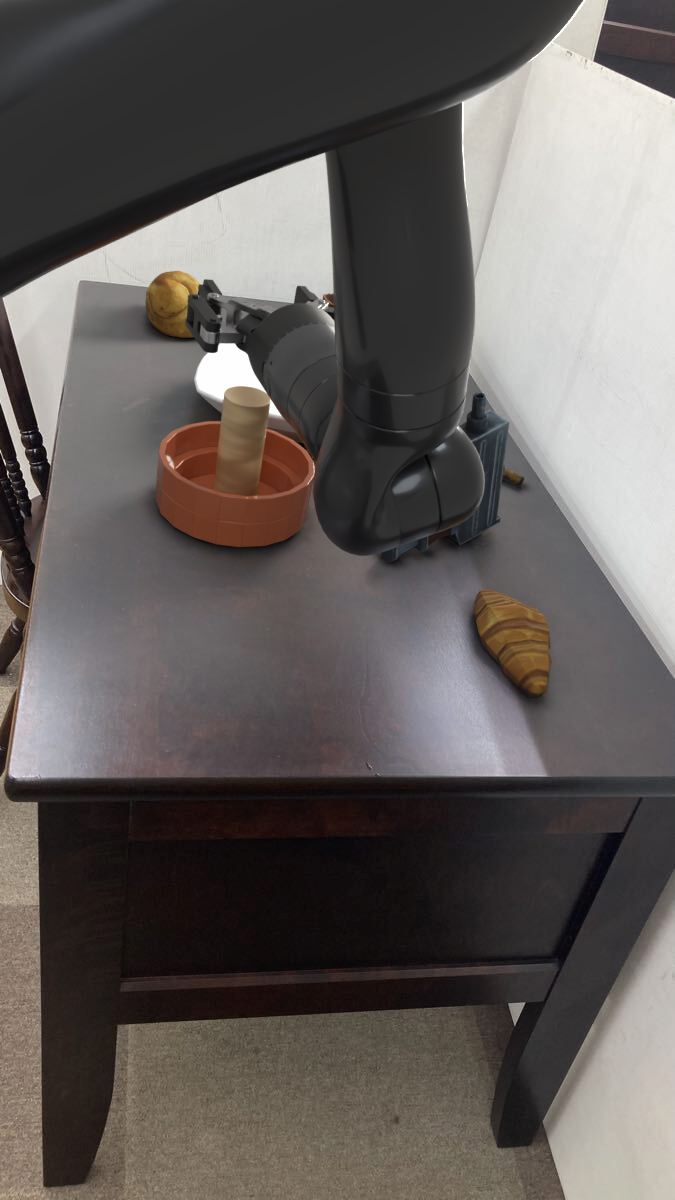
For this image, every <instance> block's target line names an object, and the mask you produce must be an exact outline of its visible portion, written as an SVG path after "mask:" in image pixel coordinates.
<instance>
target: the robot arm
mask: <svg viewBox="0 0 675 1200" xmlns="http://www.w3.org/2000/svg"><path fill="white" fill-rule="evenodd" d="M585 1H586V0H0V300H1V299H3V298H5V297H7V296H9V295H11V294H12V293H14V292H16V291H18V290H19V289H21V288H23V287H25V286H27V285H29V284H30V283H33V282H34V281H36V280H38V279H40V278H42V277H43V276H45V275H47V274H49V273H51V272H53V271H55V270H57V269H59V268H61V267H63V266H65V265H67V264H69V263H72V262H74V261H75V260H78V259H80V258H82V257H84V256H86V255H88V254H91V253H93V252H95V251H97V250H99V249H101V248H104V247H106V246H108V245H110V244H112V243H115V242H117V241H119V240H122V239H124V238H125V237H128V236H130V235H132V234H134V233H137V232H139V231H140V230H143V229H145V228H147V227H149V226H151V225H153V224H156V223H158V222H160V221H162V220H164V219H166V218H168V217H171V216H172V215H174V214H177V213H179V212H181V211H183V210H185V209H187V208H189V207H192V206H193V205H195V204H197V203H200V202H203V201H204V200H206V199H208V198H211V197H213V196H215V195H217V194H219V193H222V192H224V191H227V190H229V189H232V188H234V187H236V186H240V185H242V184H243V183H246V182H249V181H252V180H254V179H256V178H259V177H262V176H264V175H265V176H266V175H267V174H271V173H273V172H275V171H277V170H280V169H283V168H286V167H288V166H291V165H294V164H297V163H299V162H303V161H305V160H309V159H311V158H314V157H317V156H320V155H323V154H324V158H325V166H326V167H325V168H326V178H327V191H328V205H329V222H330V241H331V242H330V243H331V262H332V263H331V264H332V265H331V266H332V291H333V293H334V308H332V307H328V302H327V301H325V300H323V298H319V297H318V296H317V295H316V294H315V293H314V292H312V291H311V290H309V288H308V287H307V286H306V285H296V287H295V288H296V289H295V295H294V300H293V303H290V304H286V305H284V306H281V307H279V308H277V307H274V306H271V305H270V304H269V305H261V304H258V303H257V302H254V301H252V300H249V299H247V298H244V297H242V296H239V297H235V298H229V297H228V296H225V295H223V293H222V291H221V290H220V288H219V287H218V285H217V283H216V282H215V281H214V279H208V278H204V279H203V282H202V283H200V284H199V286H198V295H197V294H191V295H188V301H187V302H188V308H187V319H186V324H185V325H186V327H187V328H188V330H189V331H190V332H191V334H192V335H193V337H192V338H194V339H195V341H196V343H197V344H198V345H199V346H200V348H201V349H202V351H204V353H216V352H218V346H219V344H220V343H224V344H235V345H236V346H237V348H239V349H240V350H242V351H244V352H245V353H247V355H248V357H249V361H250V364H251V367H252V369H253V372H254V374H255V376H256V377H257V379H258V380H259V382H260V383H261V385H262V386H263V388H264V390H265V391H266V393H267V394H268V396H269V397H270V399H271V401H272V402H273V404H274V405H275V407H276V408H277V410H278V411H279V413H280V414H281V416H282V417H283V418H284V419H285V420H286V421H287V423H288V424H289V425H290V426H292V427H293V428H294V430H295V431H296V433H297V434H298V436H299V437H300V439H301V440H302V442H303V443H302V444H303V445H304V448H305V450H306V451H307V452H308V454H309V455H310V457H311V458H312V460H313V461H314V462H315V461H316V462H315V465H314V481H313V486H312V495H313V505H314V509H315V514H316V518H317V520H318V523H319V525H320V527H321V530H322V531H323V533H324V534H325V536H326V537H327V538H328V539H329V540H330V542H331V543H332V544H333V545H334V546H336V547H337V548H339V549H340V550H342V551H343V552H345V553H347V554H350V555H353V556H359V557H368V556H369V557H370V556H374V555H378V554H381V553H382V552H385V551H387V550H390V549H393V548H396V547H398V546H401V545H404V544H407V543H410V542H413V541H415V540H418V539H421V538H424V537H427V536H429V535H432V534H434V533H438V532H441V531H444V530H447V529H449V528H452V527H454V526H457V525H459V524H461V523H463V522H464V521H466V520H467V519H469V518H470V517H471V516H472V515H473V514H474V513H475V512H476V510H477V508H478V507H479V505H480V503H481V500H482V497H483V494H484V486H485V476H484V469H483V465H482V462H481V459H480V456H479V454H478V452H477V450H476V448H475V446H474V445H473V443H472V441H471V440H470V439H469V437H468V436H467V435H466V433H465V432H464V431H463V430H462V429H461V428H460V427H459V425H460V424H461V421H462V418H463V414H464V411H465V408H466V407H465V406H466V400H467V395H468V394H467V393H468V384H469V378H470V377H469V376H470V369H471V362H472V354H473V349H474V339H475V330H476V329H475V328H476V285H475V284H476V279H475V266H474V265H475V263H474V253H473V243H472V232H471V222H470V215H469V213H470V212H469V205H468V195H467V186H466V172H465V169H466V168H465V157H464V156H465V155H464V102H465V101H468V100H470V99H472V98H474V97H476V96H478V95H481V94H483V93H484V92H486V91H488V90H490V89H492V88H493V87H495V86H496V85H498V84H499V83H501V82H503V81H505V80H506V79H508V78H510V77H512V76H513V75H514V74H516V73H517V72H519V70H521V69H522V68H523V67H524V66H526V65H527V64H528V63H530V62H531V61H533V59H535V58H536V57H537V56H539V54H541V53H542V52H543V51H544V50H545V49H547V47H548V46H550V45H551V43H553V41H555V39H556V38H557V37H558V36H559V35H560V34H561V33H562V32H563V31H564V29H565V28H566V27H567V26H568V25H569V24H570V22H571V21H572V20H573V18H574V17H576V15H577V13H578V12H579V10H580V9H581V8H582V6H583V5H584V3H585ZM333 293H332V294H333ZM222 309H224V310H225V312H226V317H225V320H224V319H223V315H222ZM244 312H245V313H247V314H246V315H245V316H244V317H243V314H244Z"/></svg>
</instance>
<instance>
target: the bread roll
mask: <svg viewBox="0 0 675 1200" xmlns="http://www.w3.org/2000/svg"><path fill="white" fill-rule="evenodd" d="M199 284H201V282H200V281H199V280H197V278H195V277H194V276H193V275H191V274H190V273H187V272H184V271H181V270H173V271H164V272H161V273H160V274H158V275H157V276H156V277H154V279H152V281H151V282H150V284H149V285H148V287H147V290H146V293H145V311H146V315H147V317H148V320H149V321H150V323H151V324H152V326H153V327H154V328H155V329H156V330H157V331H159V332H161V333H162V334H164V335H166V336H170V337H174V338H181V339H182V338H183V339H185V338H186V339H187V338H194V337H193V335H192V334H191V332H190V331H189V330H188V328H187V327H186V325H185V324H186V319H187V308H188V302H187V301H188V295H191V294H197V295H198V286H199Z"/></svg>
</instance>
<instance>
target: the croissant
mask: <svg viewBox="0 0 675 1200" xmlns="http://www.w3.org/2000/svg"><path fill="white" fill-rule="evenodd" d="M473 605H474V606H473V616H474V619H475V623H476V627H477V631H478V634H479V637H480V641H481V643H482V646H483V649H484V650H485V651H486V652H487V654H488V655H489V656H490V657H491V659H492V660H493V661H494V662H495V663H496V664H497V665H498V666H499V667H500V669H501V672H502V673H503V675H504V676H505V677H506V678H507V679H508V680H509V681H510V682H511V683H512V685H514V686H515V688H517V689H518V690H519V691H521V692H522V693H523V694H524V695H526V696H527V697H528V698H534V699H536V698H540V697H542V696H544V695H545V693H546V692H547V689H548V684H549V680H550V674H551V668H552V658H551V653H550V652H551V651H550V650H551V647H552V646H551V634H550V633H551V632H550V628H549V624H548V621H547V618H546V616H545V615H544V614H543V613H541V612H540V611H539V610H538V609H537V608H536V607H534V606H529V605H527V604H523V603H522V602H521V601H519V600H517V599H515V598H513V597H511V596H509V595H507V594H506V593H502V592H499V591H497V590H496V591H495V590H492V589H487V588H484V589H481V590H479V591H478V593H477V594H476V596H475V599H474V604H473Z"/></svg>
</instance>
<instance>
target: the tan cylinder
mask: <svg viewBox="0 0 675 1200" xmlns="http://www.w3.org/2000/svg"><path fill="white" fill-rule="evenodd" d="M270 403H271V399H270V397H269V396H268V394H267V393H265V392H264V391H262V390H259V389H257V388H253V387H247V386H235V387H231V388H228V389H227V390H226V391H225V392H224V399H223V408H222V414H221V419H220V421H221V426H220V435H219V444H218V453H217V462H216V471H215V480H214V489H213V490H215V491H218V492H222V493H227V494H235V495H242V496H257V492H258V485H259V478H260V472H261V465H262V458H263V451H264V444H265V437H266V430H267V423H268V417H269V410H270Z"/></svg>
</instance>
